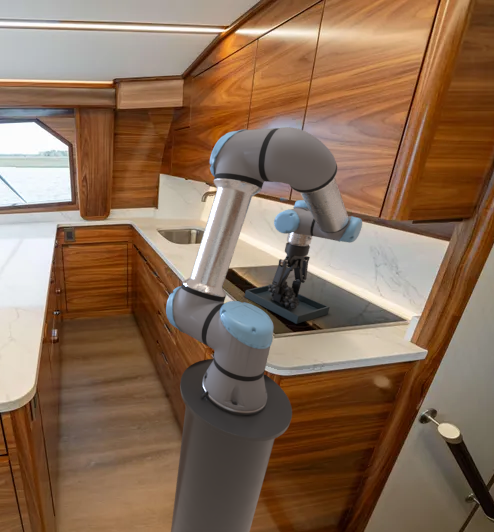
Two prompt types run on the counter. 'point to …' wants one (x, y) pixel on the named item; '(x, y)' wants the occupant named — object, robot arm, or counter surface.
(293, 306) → the fruit
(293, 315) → the tray
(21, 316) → the counter surface
